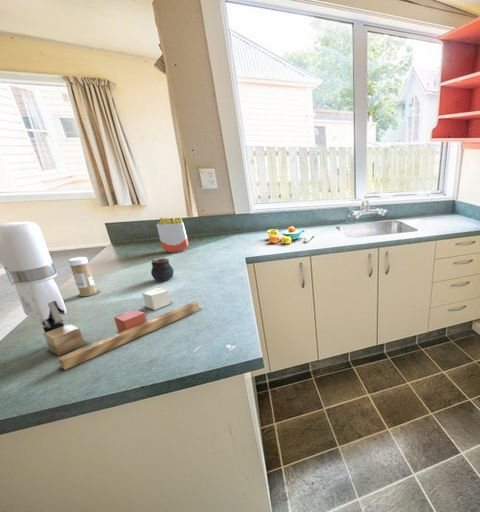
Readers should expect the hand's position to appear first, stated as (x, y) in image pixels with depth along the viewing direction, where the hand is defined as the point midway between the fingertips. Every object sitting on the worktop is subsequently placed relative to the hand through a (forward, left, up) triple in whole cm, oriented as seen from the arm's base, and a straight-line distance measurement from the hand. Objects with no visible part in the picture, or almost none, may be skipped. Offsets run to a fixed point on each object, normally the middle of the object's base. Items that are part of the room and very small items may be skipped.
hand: (58, 338), depth 77 cm
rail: (+12, -15, -1) cm, 19 cm away
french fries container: (+64, +56, -1) cm, 85 cm away
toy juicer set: (+108, +18, -2) cm, 110 cm away
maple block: (0, -5, -1) cm, 5 cm away
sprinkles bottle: (+18, +30, -1) cm, 35 cm away
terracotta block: (+12, -11, -1) cm, 16 cm away
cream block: (+24, -1, -1) cm, 24 cm away
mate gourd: (+38, +21, -1) cm, 43 cm away
